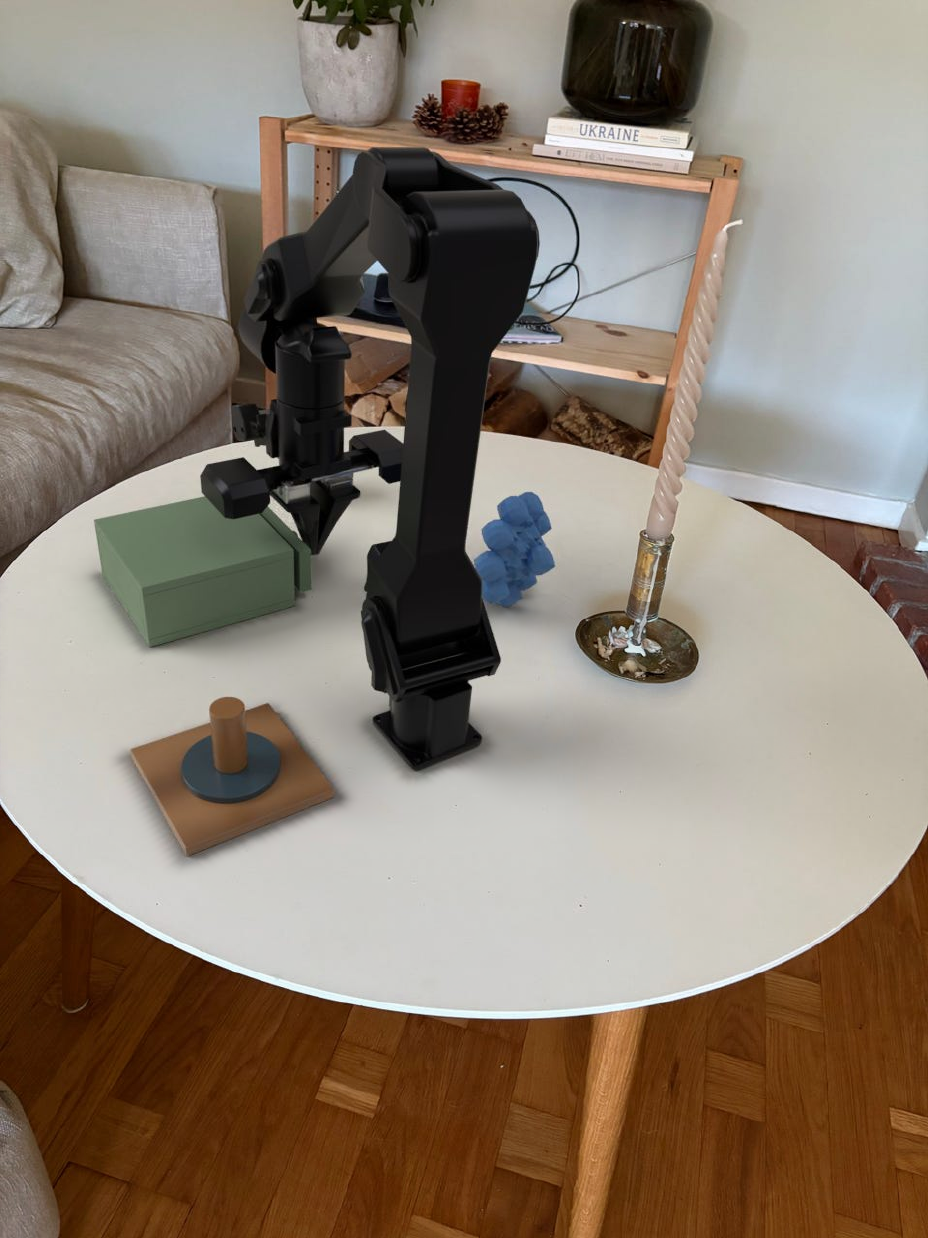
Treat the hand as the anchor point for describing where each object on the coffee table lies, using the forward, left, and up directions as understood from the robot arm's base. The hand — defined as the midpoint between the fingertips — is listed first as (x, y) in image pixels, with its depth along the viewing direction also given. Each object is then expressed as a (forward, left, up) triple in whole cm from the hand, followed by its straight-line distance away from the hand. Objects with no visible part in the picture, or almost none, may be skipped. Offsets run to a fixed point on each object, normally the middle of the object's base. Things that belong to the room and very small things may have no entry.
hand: (312, 553), depth 90 cm
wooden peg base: (-21, +17, -3) cm, 27 cm away
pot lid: (-21, +17, -2) cm, 27 cm away
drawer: (+3, +7, -2) cm, 8 cm away
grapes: (-13, -15, -3) cm, 20 cm away
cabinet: (+3, +10, -3) cm, 11 cm away
